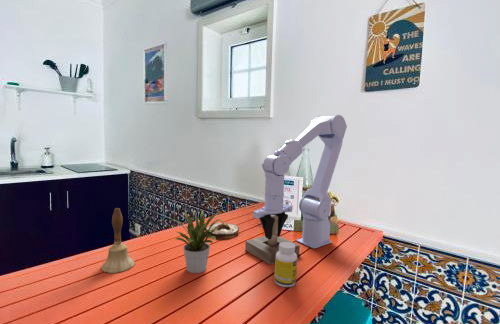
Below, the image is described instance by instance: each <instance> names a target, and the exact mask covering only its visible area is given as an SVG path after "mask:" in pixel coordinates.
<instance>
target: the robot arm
mask: <svg viewBox="0 0 500 324" xmlns="http://www.w3.org/2000/svg"><path fill="white" fill-rule="evenodd" d="M347 127H348V125H347V123H346V120H345V118H344V116H342V115H341V114H336V115H318V116H316V117H315V118H314V119H312V120H310V124H309V126H307V127H306V128H305V129H304V130H303V132H301V133H300V134H299V135H298V136H297V137H296V138H295V139H289V140H288V139H287V140H285V141H284V144H283V145H282V146H281V147H280V148H279V149H278V150H277V149H276V150H274V153H273V154H270V155H268V156H266V157H265V159H264V160H263V163H262V164H261V167H262V170H263V171H264V178H265V184H264V205H263V206H262V207H260V208H258V209H257V210H256V209H255V210H253V212H252V213H253V214H252V215H253V216H252V218H254V219H256V220H257V219H259V222H261V225H262V228H263V232H264V236H265V238H268V239H271V238H272V229H273V225H274V222H275V219H274V218H272V216H271V215H276V216H278V235H277V237H281V233H282V230H283V227H284V225H285V222H286V221H287V220H288V218H289V215H288V214H287V212H289V213H292V212H293V205H291V204H284V196H285V195H284V193H285V191H284V190H285V174H288V172H289V170H290V167H291V165H292V163H293V162H294V161H295V160H297V158H299V157H300V156H301V155H302V154H303V152H304V151H303V150H304V149H303V148H304V147H306V146H307V145H308V144H309V143H310V142H312V141H313V140H314V139H315V138H316V137H318V138H319V139H320V140H321V142H323V144H324V147H323V151H322V153H321V156H320V160H319V164H318V166H317V169H316V172H315V176H314V178H313V181H312V185H311V187H310V188H309V189H306V190H305V192H304V194H303V196H302V197H301V198H300V200H299V203H298V208H299V211H300V212H301V216H302V233H301V234H302V236H301V238H297V239H296V242H297V243H300V244H303V245H305V246H306V247H309V248H311V249H317V248H321V247H323V246H326V245H329V244H332V240H330V238H331V237H330V236H331V222H330V219H329V218H328V217H329V216H330V214H331V211H332V210H331V209H332V208H331V205H332V201H333V200H332V198H331V196H330V195H329V193H328V192H329V187H330V184H331V182H332V179H333V175H334V172H335V169H336V167H337V162H338V159H339V155H340V152H341V150H342V147H343V139H344V137H345V134H346V131H347Z"/></svg>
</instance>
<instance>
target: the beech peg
mask: <svg viewBox="0 0 500 324" xmlns="http://www.w3.org/2000/svg"><path fill="white" fill-rule="evenodd" d="M271 216H272V218H274V219H275V222H274V225H273V229H272V238H271V239H268V244H267V245H268V246H270V247H274V246H277V235H278V216H276V215H271Z"/></svg>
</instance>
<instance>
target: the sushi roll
mask: <svg viewBox="0 0 500 324" xmlns="http://www.w3.org/2000/svg"><path fill="white" fill-rule="evenodd" d="M210 226H211V224H210V225H207V227H206V229H205V231H206V230H208V229H209V228H208V227H210ZM218 227H220V228H218ZM215 228H217V229H216V230H215V231H213V232H212V234H211V235H210V236H215V237H216V239H217V240H229V239H232V238H235V237H238V234H239V231H240V226H239V225H237V224H234V223H229V222H216V223H214V224H213V226H212V227H211V228H210V230H213V229H215ZM205 231H204V232H205ZM210 232H211V231H209V232H208V234H209V233H210ZM208 234H207V235H206V236H208ZM210 236H209V237H210Z"/></svg>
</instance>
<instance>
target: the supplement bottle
mask: <svg viewBox="0 0 500 324" xmlns="http://www.w3.org/2000/svg"><path fill="white" fill-rule="evenodd" d="M293 243H294V242H293ZM293 243H290V242H281V243H280V244H279V251H278V252H277V253H276V259H275V263H274V283H275V284H276V285H278V287H279V286H280V287H281V288H282V287H283V288H291V287H293V286H295V285H296V284H297V283H296V282H297V268H298V267H297V266H298V255H296V253H295V245H294V244H293Z"/></svg>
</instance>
